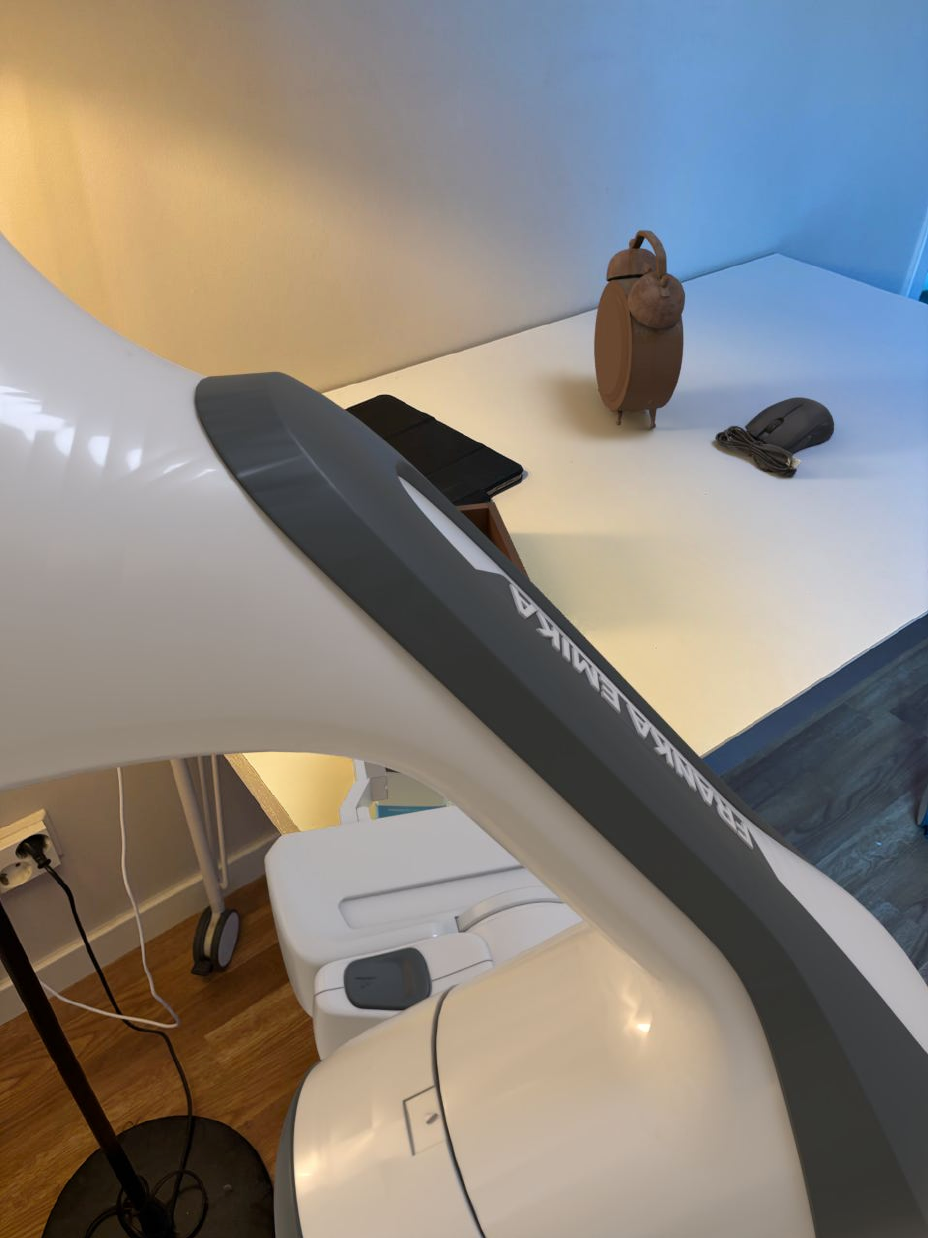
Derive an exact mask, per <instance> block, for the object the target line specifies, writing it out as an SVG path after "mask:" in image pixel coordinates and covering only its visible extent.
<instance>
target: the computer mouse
mask: <svg viewBox="0 0 928 1238" xmlns="http://www.w3.org/2000/svg"><path fill="white" fill-rule="evenodd" d="M834 433H835V421H834V417H833V415H832V413H831V412H830V410H829V409H828V407H826V406H825V405H824V404H822V403H820V402H819V401H817V400H814V399H811V398H807V397H802V396H801V397H797V396H796V397H791V398H787V399H784V400H782V401H779V402H776V403H774V404H772V405H770V406H768V407H766V408H764V409H763V410H762V411H760V412H759V413H758V414H756V415H755V416H754V417H753V418H752V419H750V421H749V422H748V423H747V424H746V425H745V426H744V427H741V426H738V425H731V426H729V427H727V428H726V429H724V430H723V431H720V432H718V433H717V434H715V437H714V438H715V441H716V443H717V444H718V445H719V446H721V447H724V448H727V449H731V450H735V451H739V452H744V453H747V454H748V455H747V456H748V457H752V458H753V461H754V463H755V465H756V466H757V468H759V469H760V470H761V471H763V472H768V473H770V472H773V473H775V474H777V475H778V476H780V477H781V476H782V477H792V476H795V474H796V473H797V471H798V470H797V469H798V467H799V465H800V464H802V462H803V460H801V459H799V458H797V457H796V456H794V453H796V452H798V451H799V450H802V449H804V448H807V447H810V446H813V445H817V444H820V443H823V442H825V441H827V440H828V439H830V438H831V437H832V436H833V435H834ZM758 462H759V463H758ZM760 463H761V465H762V466H761V465H760ZM763 466H764V467H763Z"/></svg>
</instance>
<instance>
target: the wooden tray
mask: <svg viewBox="0 0 928 1238" xmlns="http://www.w3.org/2000/svg"><path fill="white" fill-rule="evenodd" d="M454 506H455V507H456V508H457V509H458V510H459V511H460V512H461V513H462V514H464V515H465V516H466V517H467V518H468V519H469V520H470V521H471V522H472V523H473V524H474V525H475V526H476V527H477V528H478V529H479V530H480V531H481V532H482V533H483V534H484V535H485V536H486V537H487V538H488V539H489V540H490V541H491V542H492V543H493V544H494V545H495V546H496V547H497V548H498V549H499V550H500V551H501V552H502V553H503V554H504V555H505V556H506V557H507V558H508V559H509V560H510V561H511V562H512V563H513V564H514V565H515V566H516V567H517V568H518V569H519V570H520V571H521V572H522V573H523V574H524V575H525V576H526V577H527V578H528V579H529V580H530V581H531V579H530V577H529V574H528V573H527V570H526V568H525V566H524V564H523V561H522V560H521V557H520V554H519V553H518V551H517V548H516V546H515V544H514V541H513V540H512V538H511V535H510V533H509V530H508V528H507V527H506V524H505V522H504V520H503V518H502V515H501V513H500V511H499V509H498V507H497V504H496V502H495V501H492V502H491V501H489V502H483V503H481V502H480V503H471V504H464V505H463V504H461V505H454Z"/></svg>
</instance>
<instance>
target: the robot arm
mask: <svg viewBox="0 0 928 1238" xmlns="http://www.w3.org/2000/svg"><path fill="white" fill-rule="evenodd" d="M455 506H456V505H455V504H454V503H453V502H451V501H450V499H448V498H447V496H446V495H444V494H443V493H442V492H441V491H440V490H439V489H438V488H437V487H436V486H435V485H434V484H433V483H432V482H431V481H430V480H429V479H427V478H426V476H424V475H423V473H421V471H419V470H418V469H417V468H416V467H415V466H414V465H413V464H412V463H411V462H410V461H409V460H407V459H406V458H405V456H403V455H402V454H401V453H399V451H398V450H396V449H395V448H394V447H393V446H392V445H391V444H389V443H388V442H387V441H386V440H385V439H383V438H382V437H381V436H380V435H379V434H378V433H376V432H375V431H373V430H372V428H370V427H369V426H368V425H366V424H365V423H364V422H363V421H361V420H360V419H359V418H357V416H355V415H354V414H352V413H350V412H349V411H348V410H346V409H345V408H343V407H342V406H340V405H339V404H337V403H336V402H334V401H333V400H332V399H330V398H328V397H327V396H326V395H324V394H323V393H322V392H319V391H318V390H316V389H314V388H312V387H311V386H309V385H307V384H306V383H304V382H302V381H300V380H299V379H297V378H295V377H293V376H292V375H289V374H287V373H284V372H280V371H266V372H265V371H264V372H253V373H251V372H250V373H237V374H225V375H212V376H211V375H209V376H207V375H204V374H201V373H200V372H197V371H195V370H191V369H189V368H186V367H184V366H182V365H180V364H178V363H175V362H173V361H172V360H169V359H167V358H165V357H163V356H161V355H159V354H157V353H155V352H154V351H151V350H149V349H147V348H146V347H144V346H142V345H140V344H138V343H136V342H135V341H133V340H131V339H130V338H128V337H127V336H125V335H123V334H122V333H120V332H118V331H116V330H115V329H114V328H112V327H110V326H109V325H107V324H106V323H104V322H103V321H101V320H100V319H99V318H97V317H95V315H93V314H92V313H90V312H89V311H87V310H85V309H84V308H83V307H82V306H81V305H80V304H78V303H77V302H76V301H74V300H73V299H72V298H70V297H69V296H68V295H67V294H66V293H65V292H63V291H62V290H61V289H60V288H59V287H57V286H56V284H54V282H52V281H51V280H49V278H47V277H46V275H44V274H43V273H42V272H40V270H38V269H37V268H36V267H35V266H34V265H32V263H31V262H30V261H29V260H28V259H27V258H26V256H24V255H23V254H22V253H21V252H20V250H18V249H17V247H15V246H14V245H13V244H12V243H11V241H10V240H9V239H8V238H7V237H6V236H5V235H4V233H3V232H2V231H1V230H0V794H2V793H7V792H11V791H15V790H19V789H23V788H26V787H31V786H36V785H40V784H44V783H49V782H54V781H58V780H63V779H67V778H72V777H76V776H81V775H85V774H89V773H91V774H92V773H96V772H102V771H106V770H108V771H109V770H112V769H118V768H124V767H130V766H136V765H141V764H147V763H156V762H165V761H171V760H179V759H187V758H196V757H204V756H205V757H206V756H220V755H221V756H222V755H233V754H253V753H296V754H297V753H301V754H316V755H324V756H334V757H341V758H342V757H343V758H348V759H352V768H353V769H352V770H353V771H352V772H353V780H354V781H353V783H352V785H351V787H350V788H349V790H348V792H347V794H346V796H345V797H344V799H343V802H342V803H341V805H340V807H339V809H338V817H339V824H338V825H332V826H331V825H330V826H325V827H320V828H313V829H309V830H303V831H295V832H290V833H285V834H283V835H281V836H279V837H278V838H277V839H276V840H275V841H274V843H273V844H272V845H271V847H270V848H269V850H268V851H267V852H266V854H265V855H264V858H263V861H264V871H265V877H266V884H267V889H268V896H269V902H270V907H271V912H272V917H273V923H274V927H275V930H276V935H277V939H278V944H279V947H280V951H281V955H282V959H283V963H284V966H285V970H286V973H287V976H288V979H289V982H290V985H291V988H292V991H293V994H294V996H295V998H296V1000H297V1002H298V1003H299V1005H300V1006H301V1008H302V1009H303V1011H305V1012H306V1014H307V1015H309V1016H310V1017H311V1018H312V1025H313V1027H312V1028H313V1036H314V1040H315V1045H316V1048H317V1049H316V1050H317V1053H318V1056H319V1061H318V1060H317V1061H316V1062H315V1063H314V1064H312V1065H311V1066H310V1067H309V1068H308V1069H307V1071H305V1073H304V1076H303V1077H302V1079H301V1081H300V1082H299V1085H298V1087H297V1088H296V1091H295V1093H294V1094H293V1097H292V1100H291V1101H290V1104H289V1106H288V1109H287V1113H286V1115H285V1118H284V1121H283V1125H282V1128H281V1133H280V1137H279V1142H278V1146H277V1152H276V1158H275V1159H276V1161H275V1169H274V1186H273V1216H274V1217H273V1219H274V1233H275V1238H928V985H927V982H925V980H924V979H923V977H922V975H921V974H920V973H919V971H918V970H917V968H916V967H915V965H914V964H913V962H912V961H911V960H910V958H909V956H908V955H907V954H906V952H905V951H904V950H903V948H902V947H901V946H900V944H899V943H898V942H897V940H895V938H894V937H893V936H892V934H891V933H890V932H888V930H887V929H886V928H885V927H884V926H883V924H882V923H881V922H880V921H879V920H878V919H877V917H876V916H875V915H873V914H872V913H871V912H870V910H868V909H867V908H866V907H865V906H864V905H863V904H862V903H861V902H860V901H858V900H857V899H856V897H854V896H853V895H852V894H850V892H848V891H847V890H846V889H845V888H843V887H842V886H840V885H839V884H838V883H837V882H836V881H834V880H833V879H832V878H831V877H829V876H828V875H827V874H825V873H823V872H822V871H821V870H819V869H818V868H816V867H815V866H814V864H813V863H811V862H810V860H808V859H807V858H806V857H805V855H803V854H802V852H800V850H798V849H797V848H796V847H795V846H794V845H793V844H791V843H790V842H789V840H787V839H786V838H785V837H784V836H782V834H781V833H779V832H778V831H777V830H776V829H774V828H773V827H772V826H771V825H770V824H769V823H767V822H766V821H765V820H764V819H763V818H762V817H761V816H760V815H758V814H757V813H756V812H755V811H754V810H753V809H752V808H751V807H750V806H748V804H747V803H746V802H745V801H744V800H742V799H741V798H740V797H739V796H738V794H737V793H735V792H734V790H733V789H731V788H730V786H728V785H727V783H726V782H725V781H723V779H722V778H721V777H720V776H719V775H718V774H717V773H716V772H715V771H714V770H713V768H711V767H710V766H709V764H707V763H706V762H705V761H704V760H703V759H702V757H700V755H698V753H697V752H695V750H693V748H692V747H691V746H690V745H689V744H688V743H687V741H685V740H684V739H683V738H682V737H681V736H680V735H679V734H678V732H677V731H676V730H675V729H674V728H673V727H671V725H670V724H669V723H668V722H667V721H666V719H664V718H663V717H662V716H661V715H660V714H659V713H658V712H657V711H656V709H655V708H654V707H652V705H650V703H649V702H648V701H647V700H646V699H645V698H644V697H643V696H642V695H641V694H640V693H639V692H638V690H636V689H635V688H634V687H633V686H632V685H631V684H630V682H628V680H627V679H626V678H625V677H624V676H623V675H622V674H621V673H620V672H619V671H618V669H616V668H615V667H614V666H613V665H612V663H610V662H609V661H608V659H607V658H606V657H605V656H604V655H603V654H602V653H601V652H600V651H599V650H598V649H597V648H596V647H595V646H594V645H593V643H591V642H590V641H589V640H588V639H587V637H585V635H584V634H583V633H582V632H581V631H579V629H578V627H576V626H575V625H574V624H573V623H572V622H571V620H569V619H568V618H567V616H565V614H563V612H561V610H560V609H559V608H558V607H557V606H556V605H555V604H554V603H553V602H552V601H551V600H550V599H549V598H548V597H547V596H546V595H545V594H544V592H542V591H541V589H539V588H538V587H537V586H536V585H535V584H534V583H533V582H532V581H531V579H530V578H529V579H530V580H529V579H528V578H527V577H526V576H525V575H524V574H523V573H522V572H521V571H520V570H519V569H518V568H517V567H516V566H515V565H514V564H513V563H512V562H511V561H510V560H509V559H508V558H507V557H506V556H505V555H504V554H503V553H502V552H501V551H500V550H499V549H498V548H497V547H496V546H495V545H494V544H493V543H492V542H491V541H490V540H489V539H488V538H487V537H486V536H485V535H484V534H483V533H482V532H481V531H480V530H479V529H478V528H477V527H476V526H475V525H474V524H473V523H472V522H471V521H470V520H469V519H468V518H467V517H466V516H465V515H464V514H462V513H461V512H460V511H459V510H458V509H457V508H456V507H455ZM385 767H386V768H389V769H392V770H395V771H397V772H400V773H403V774H406V775H408V776H410V777H412V778H414V779H416V780H418V781H420V782H422V783H423V784H425V785H427V786H428V787H430V788H432V789H433V790H435V791H436V792H438V793H439V794H441V795H442V796H443V797H445V798H446V801H449V802H450V803H451V805H449V806H448V805H447V806H446V807H442V808H436V809H430V810H424V811H419V812H413V813H407V814H401V815H395V816H390V817H384V818H378V819H376V818H373V819H372V817H371V812H370V808H371V806H372V804H373V802H376V801H379V800H384V799H388V790H387V774H386V769H385ZM452 804H453V805H452Z"/></svg>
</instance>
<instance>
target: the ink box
mask: <svg viewBox="0 0 928 1238" xmlns="http://www.w3.org/2000/svg"><path fill="white" fill-rule="evenodd" d="M385 769H386V774H387V790H388V799H384V800H379V801H375V819H378V818H384V817H390V816H395V815H401V814H407V813H413V812H419V811H424V810H430V809H436V808H442V807H447V799H446V798H445V797H443V796H442V795H441V794H439V793H438V792H436V791H435V790H433V789H432V788H430V787H428V786H427V785H425V784H423V783H422V782H420V781H418V780H416V779H414V778H412V777H410V776H408V775H406V774H403V773H400V772H397V771H395V770H392V769H389V768H386V767H385Z"/></svg>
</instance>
